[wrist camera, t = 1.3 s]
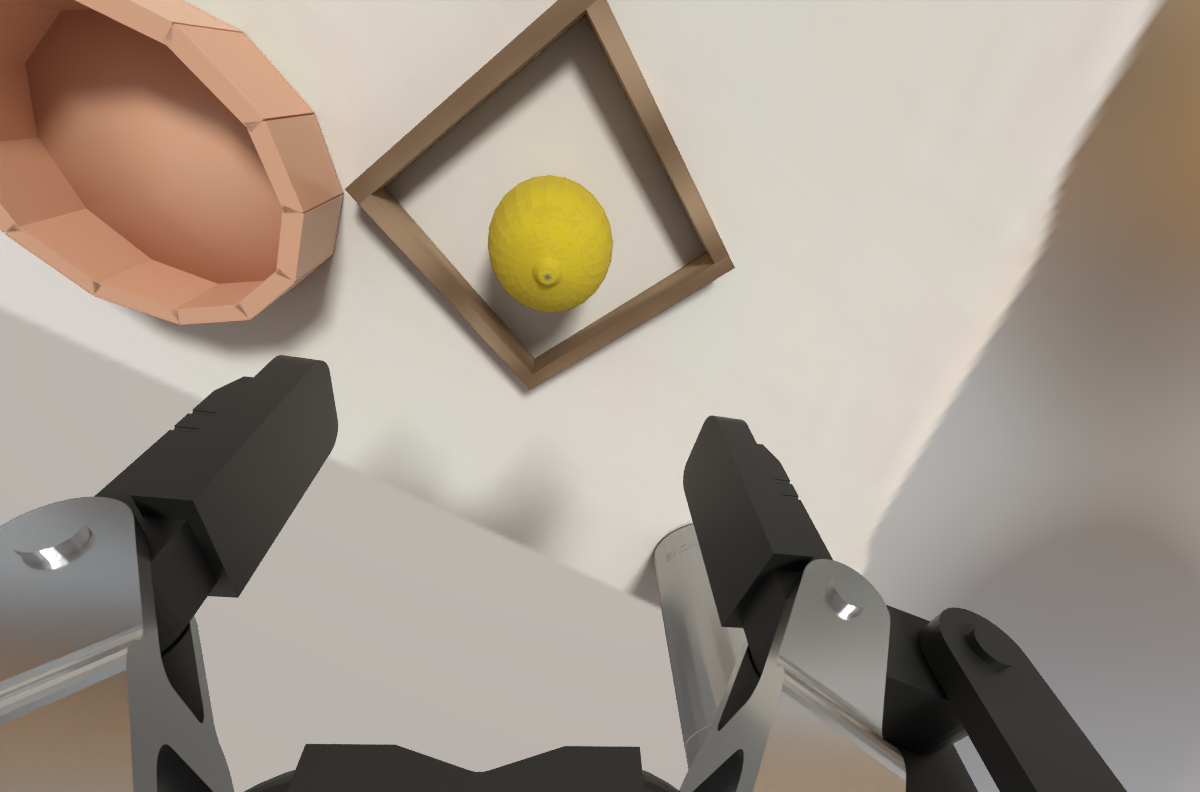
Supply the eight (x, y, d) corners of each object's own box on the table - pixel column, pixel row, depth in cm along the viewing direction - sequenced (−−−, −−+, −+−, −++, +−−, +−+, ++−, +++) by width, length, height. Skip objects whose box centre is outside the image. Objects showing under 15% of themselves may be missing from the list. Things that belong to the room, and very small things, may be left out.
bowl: (393, 203, 22) (364, 224, 19) (242, 330, 26) (194, 366, 23) (122, -106, 16) (7, -153, 13) (-31, 118, 20) (-150, 126, 16)
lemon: (497, 262, 24) (469, 329, 18) (506, 151, 21) (476, 182, 15) (595, 281, 25) (603, 350, 19) (617, 176, 22) (636, 216, 16)
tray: (725, 256, 25) (734, 267, 23) (532, 373, 29) (530, 389, 27) (590, -22, 18) (592, -31, 17) (359, 181, 22) (345, 189, 20)
